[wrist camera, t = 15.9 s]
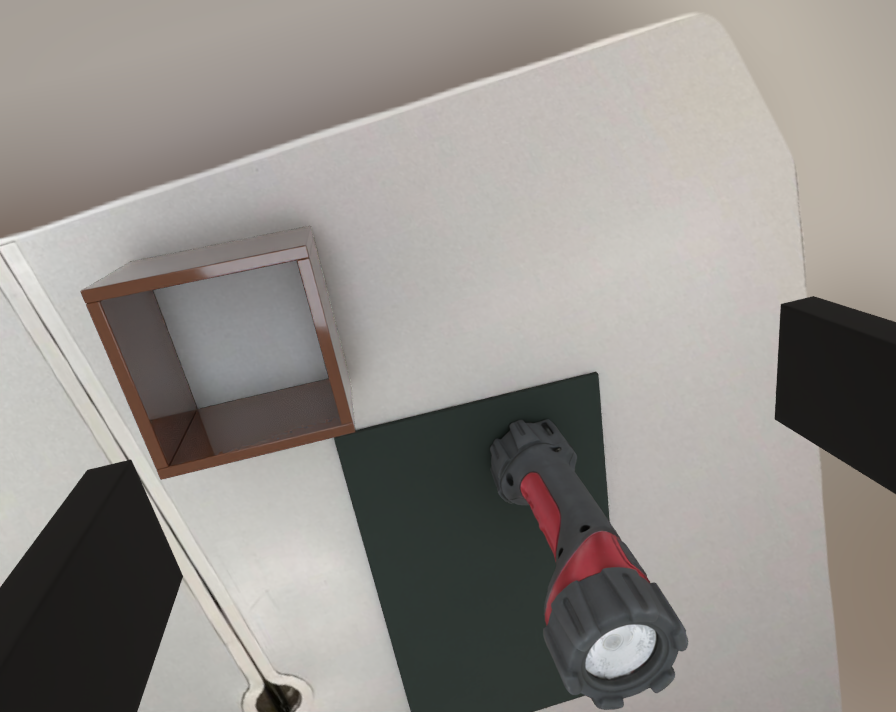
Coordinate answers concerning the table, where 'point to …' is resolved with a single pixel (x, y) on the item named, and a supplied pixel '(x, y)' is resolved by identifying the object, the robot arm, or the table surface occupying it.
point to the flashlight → (588, 576)
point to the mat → (467, 546)
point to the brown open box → (163, 381)
